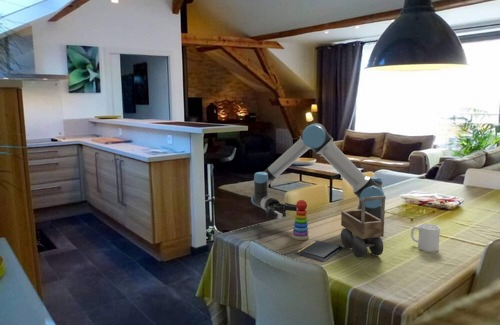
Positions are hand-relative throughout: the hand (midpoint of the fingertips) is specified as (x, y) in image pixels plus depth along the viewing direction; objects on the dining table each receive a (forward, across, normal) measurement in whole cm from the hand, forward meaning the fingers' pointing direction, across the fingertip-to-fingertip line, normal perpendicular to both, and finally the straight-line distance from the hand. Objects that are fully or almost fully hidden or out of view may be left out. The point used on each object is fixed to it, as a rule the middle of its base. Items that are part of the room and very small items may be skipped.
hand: (293, 214), depth 192 cm
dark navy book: (+22, +2, -11) cm, 25 cm away
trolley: (+32, -13, -10) cm, 36 cm away
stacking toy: (+5, 0, -11) cm, 12 cm away
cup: (+43, -40, -11) cm, 60 cm away
